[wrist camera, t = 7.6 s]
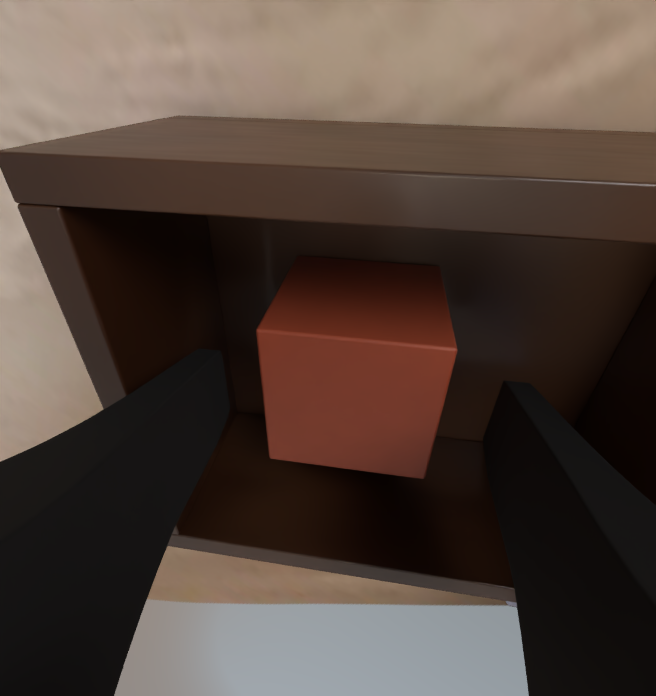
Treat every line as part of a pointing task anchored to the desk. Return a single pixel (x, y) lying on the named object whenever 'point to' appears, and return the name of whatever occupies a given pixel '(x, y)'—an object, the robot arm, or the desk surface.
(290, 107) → the desk surface
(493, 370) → the chest
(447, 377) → the block
